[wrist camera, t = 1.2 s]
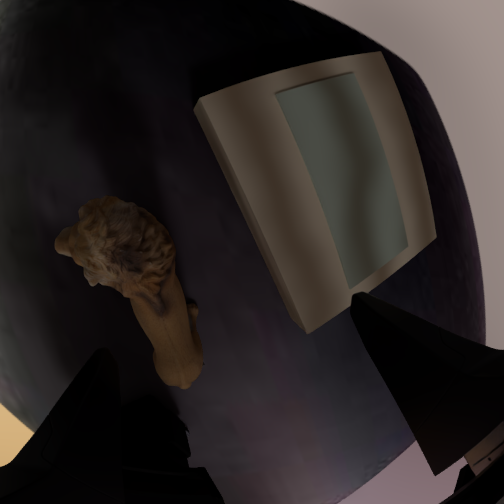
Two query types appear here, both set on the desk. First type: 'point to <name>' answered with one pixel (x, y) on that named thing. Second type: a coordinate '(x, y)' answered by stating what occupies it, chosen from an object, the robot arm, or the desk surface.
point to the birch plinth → (323, 178)
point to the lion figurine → (139, 279)
